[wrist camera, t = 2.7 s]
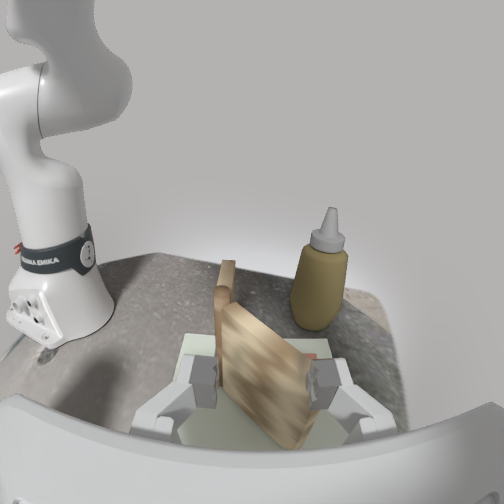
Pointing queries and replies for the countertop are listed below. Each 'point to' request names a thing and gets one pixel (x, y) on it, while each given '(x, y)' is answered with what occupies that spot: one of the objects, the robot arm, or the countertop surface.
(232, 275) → the fixed fence panel
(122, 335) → the countertop surface
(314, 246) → the squeeze bottle
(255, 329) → the panel
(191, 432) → the card
